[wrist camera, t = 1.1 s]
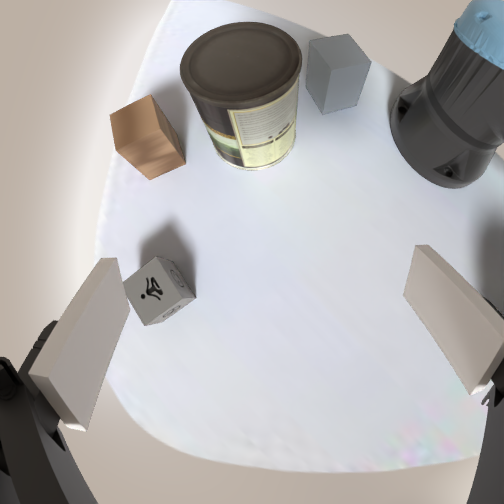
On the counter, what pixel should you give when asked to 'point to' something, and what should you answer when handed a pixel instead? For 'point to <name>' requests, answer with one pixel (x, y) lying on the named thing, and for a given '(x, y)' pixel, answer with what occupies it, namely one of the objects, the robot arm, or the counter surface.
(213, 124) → the coffee can
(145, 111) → the walnut block
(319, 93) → the slate-grey block
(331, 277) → the counter surface
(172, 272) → the dice cube
